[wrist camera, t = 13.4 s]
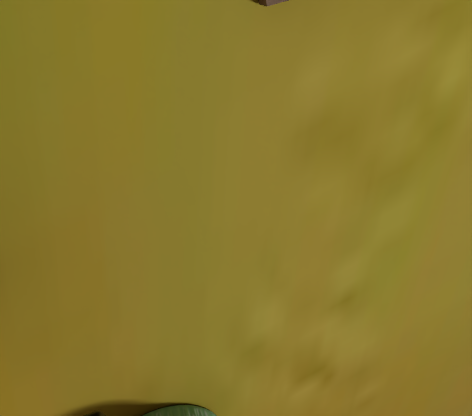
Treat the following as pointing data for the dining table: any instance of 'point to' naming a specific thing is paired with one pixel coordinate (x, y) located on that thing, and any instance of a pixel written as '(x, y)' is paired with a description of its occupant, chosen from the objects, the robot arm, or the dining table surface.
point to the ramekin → (181, 411)
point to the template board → (270, 2)
